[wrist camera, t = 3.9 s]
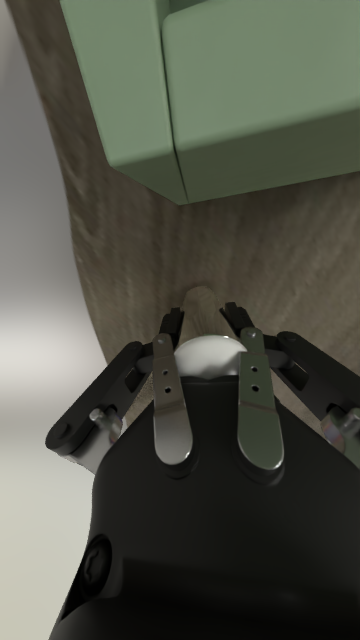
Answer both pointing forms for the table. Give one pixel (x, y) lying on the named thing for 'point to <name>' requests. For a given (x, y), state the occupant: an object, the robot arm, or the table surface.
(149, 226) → the table surface
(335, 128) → the storage box
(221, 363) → the milkshake
